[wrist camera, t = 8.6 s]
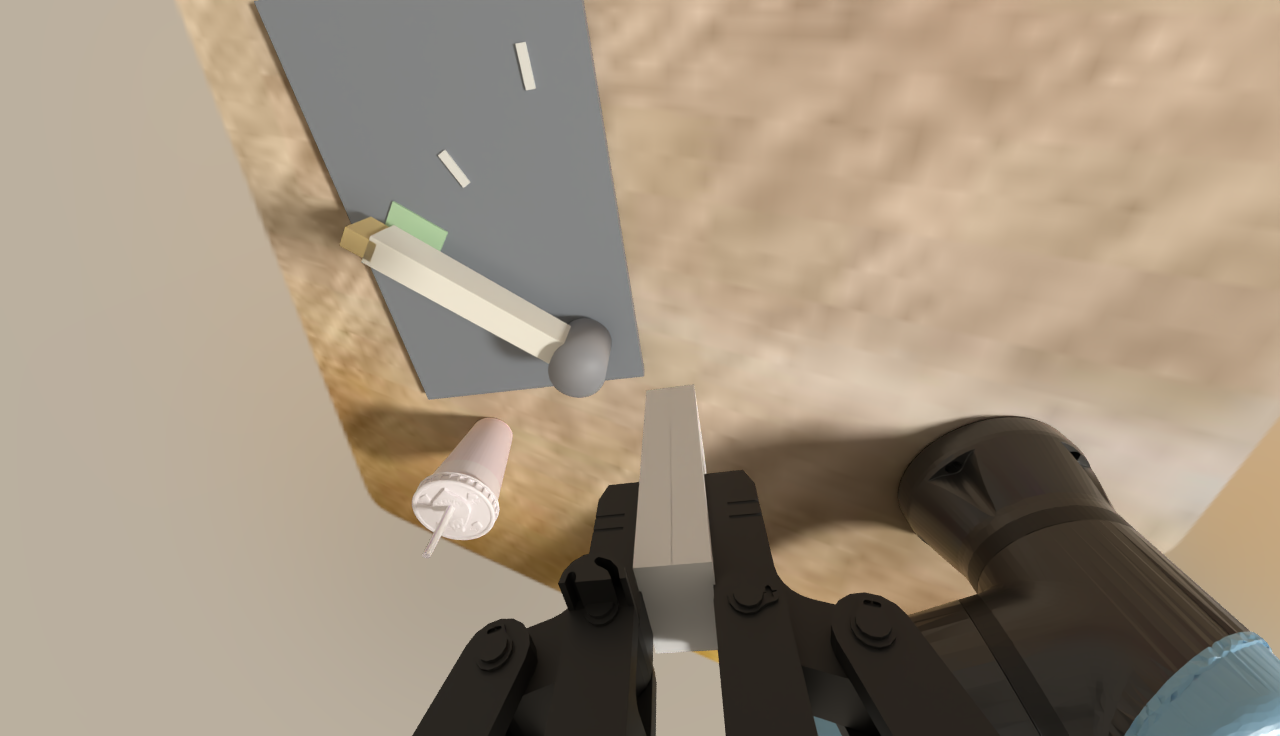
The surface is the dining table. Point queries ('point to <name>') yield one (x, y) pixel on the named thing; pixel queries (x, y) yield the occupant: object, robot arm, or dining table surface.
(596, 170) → the dial plate
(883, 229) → the dining table surface
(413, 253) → the lever
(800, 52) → the dining table surface
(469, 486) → the smoothie
